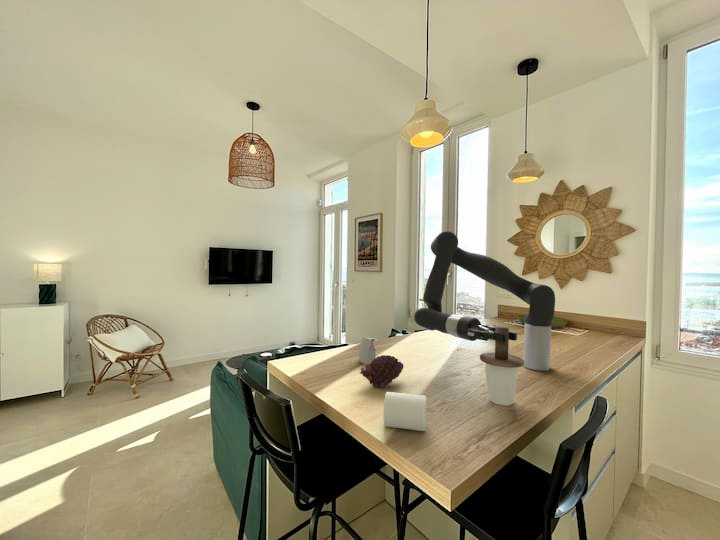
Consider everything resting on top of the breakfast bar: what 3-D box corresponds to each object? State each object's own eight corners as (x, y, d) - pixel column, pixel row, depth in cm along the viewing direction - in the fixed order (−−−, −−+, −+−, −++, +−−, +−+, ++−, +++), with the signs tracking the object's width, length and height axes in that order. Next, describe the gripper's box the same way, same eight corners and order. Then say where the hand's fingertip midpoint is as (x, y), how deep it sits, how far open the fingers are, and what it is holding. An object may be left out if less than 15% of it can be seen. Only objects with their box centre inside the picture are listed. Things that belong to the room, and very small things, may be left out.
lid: (497, 353, 101) (498, 322, 101) (533, 364, 90) (534, 329, 90) (471, 357, 95) (471, 325, 95) (505, 370, 85) (506, 333, 85)
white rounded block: (425, 438, 73) (426, 404, 72) (382, 432, 75) (383, 399, 74) (425, 413, 84) (426, 384, 84) (388, 409, 86) (389, 381, 86)
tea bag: (367, 366, 122) (367, 340, 122) (358, 361, 128) (359, 336, 128) (375, 364, 124) (375, 339, 124) (366, 359, 130) (367, 336, 130)
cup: (479, 394, 98) (481, 356, 98) (509, 395, 97) (510, 356, 97) (490, 407, 89) (492, 365, 88) (523, 408, 88) (524, 366, 88)
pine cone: (393, 375, 113) (394, 347, 112) (413, 384, 105) (414, 354, 104) (353, 385, 102) (354, 355, 102) (372, 396, 94) (373, 364, 94)
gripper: (448, 317, 101) (497, 327, 86) (476, 314, 108) (525, 322, 94) (448, 340, 101) (496, 354, 87) (476, 335, 109) (524, 347, 94)
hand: (511, 337), depth 90 cm, fingers open, 4 cm apart
